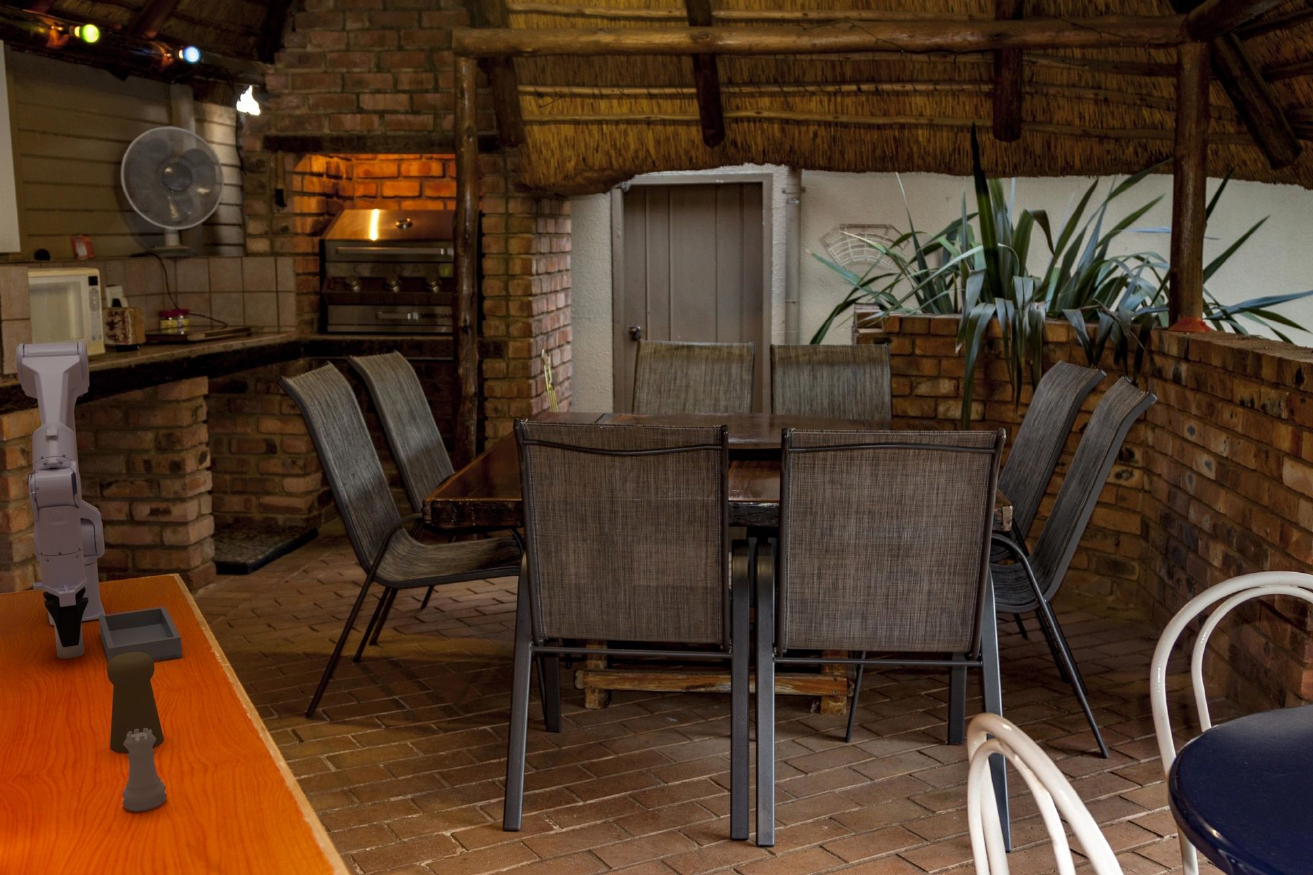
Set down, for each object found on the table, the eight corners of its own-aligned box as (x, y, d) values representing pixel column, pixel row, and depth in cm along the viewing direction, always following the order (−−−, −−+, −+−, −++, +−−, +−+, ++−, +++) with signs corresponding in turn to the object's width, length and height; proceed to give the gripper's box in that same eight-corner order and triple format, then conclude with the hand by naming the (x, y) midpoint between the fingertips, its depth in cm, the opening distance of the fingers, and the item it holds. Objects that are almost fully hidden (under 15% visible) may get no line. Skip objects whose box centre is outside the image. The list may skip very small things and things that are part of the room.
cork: (151, 753, 147) (144, 663, 145) (100, 753, 147) (92, 663, 145) (172, 733, 153) (165, 646, 151) (123, 733, 153) (115, 646, 151)
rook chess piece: (122, 816, 131) (116, 744, 129) (122, 799, 135) (116, 728, 134) (168, 808, 133) (162, 736, 131) (166, 791, 137) (160, 721, 135)
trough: (100, 634, 191) (98, 615, 191) (166, 624, 196) (165, 606, 195) (110, 668, 176) (108, 648, 175) (182, 657, 180) (180, 637, 180)
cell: (56, 652, 183) (52, 606, 182) (83, 648, 185) (79, 603, 184) (57, 660, 180) (53, 613, 179) (85, 655, 182) (80, 609, 181)
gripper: (28, 543, 184) (37, 632, 187) (31, 565, 172) (41, 660, 174) (81, 537, 188) (88, 625, 190) (88, 559, 175) (96, 652, 177)
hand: (69, 641), depth 182 cm, fingers closed on cell, 4 cm apart
